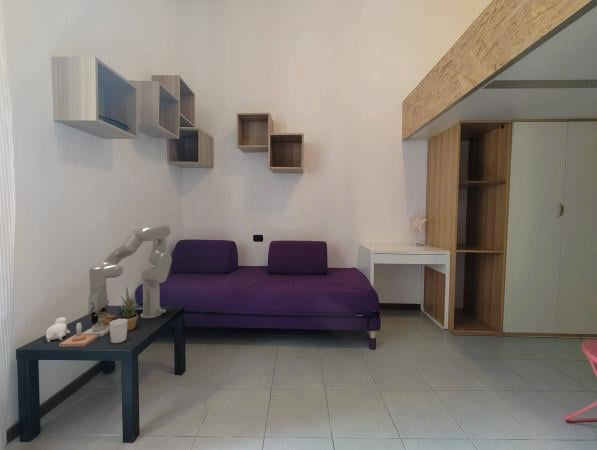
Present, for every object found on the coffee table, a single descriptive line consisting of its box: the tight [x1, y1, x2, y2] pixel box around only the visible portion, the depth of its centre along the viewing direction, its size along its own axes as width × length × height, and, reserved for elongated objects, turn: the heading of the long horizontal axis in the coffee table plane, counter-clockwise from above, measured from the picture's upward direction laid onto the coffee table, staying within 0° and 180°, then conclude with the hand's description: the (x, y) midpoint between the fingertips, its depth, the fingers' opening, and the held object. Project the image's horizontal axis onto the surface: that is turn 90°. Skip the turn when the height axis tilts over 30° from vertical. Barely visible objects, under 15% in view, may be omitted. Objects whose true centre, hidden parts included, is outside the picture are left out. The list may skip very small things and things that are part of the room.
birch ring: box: [97, 311, 108, 321], centre depth 154 cm, size 7×7×3 cm
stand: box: [83, 321, 110, 337], centre depth 153 cm, size 11×11×8 cm
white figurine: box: [45, 316, 71, 343], centre depth 148 cm, size 9×8×15 cm
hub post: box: [58, 322, 99, 348], centre depth 141 cm, size 12×10×10 cm
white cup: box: [109, 318, 128, 344], centre depth 144 cm, size 8×8×10 cm
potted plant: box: [118, 286, 139, 332], centre depth 158 cm, size 10×10×25 cm
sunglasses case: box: [91, 313, 118, 327], centre depth 169 cm, size 18×7×7 cm, turn 20°
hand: (99, 319), depth 154 cm, fingers closed on birch ring, 7 cm apart
